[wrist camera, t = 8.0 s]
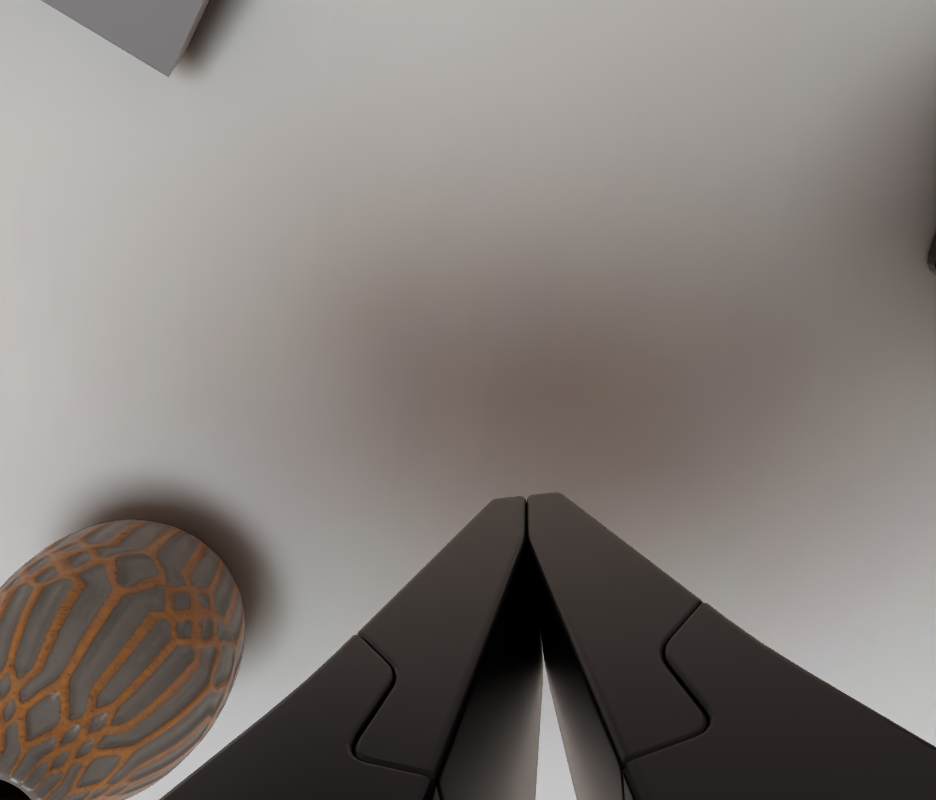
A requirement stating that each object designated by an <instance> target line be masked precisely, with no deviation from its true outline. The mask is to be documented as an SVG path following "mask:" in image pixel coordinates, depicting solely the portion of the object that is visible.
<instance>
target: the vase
mask: <svg viewBox="0 0 936 800" xmlns="http://www.w3.org/2000/svg"><path fill="white" fill-rule="evenodd" d="M244 635H245V620H244V611H243V604H242V599H241V595H240V593H239V590H238V587H237V585H236V583H235V581H234V579H233V577H232V575H231V573H230V572H229V570H228V568H227V567H226V565H225V564H224V563H223V561H222V560H221V559H220V558H219V556H218V555H217V554H216V553H215V552H214V551H213V550H212V549H211V548H209V547H208V546H207V545H206V544H205V543H203V542H202V541H201V540H199V539H198V538H196V537H194V536H193V535H191V534H189V533H187V532H185V531H183V530H181V529H179V528H176V527H173V526H171V525H167V524H164V523H159V522H153V521H145V520H117V521H111V522H107V523H102V524H98V525H94V526H91V527H88V528H85V529H83V530H80V531H78V532H75V533H73V534H70V535H68V536H66V537H64V538H62V539H60V540H59V541H57V542H55V543H53V544H51V545H50V546H48V547H46V548H45V549H44V550H42V551H41V552H40V553H38V554H37V555H36V556H34V557H33V558H32V559H31V560H29V561H28V562H27V563H25V564H24V565H23V566H22V567H21V568H20V569H19V570H18V571H16V572H15V573H14V574H13V575H12V576H11V577H10V578H9V579H8V580H7V581H6V582H5V583H4V584H3V585H2V586H1V588H0V800H124V799H127V798H129V797H132V796H134V795H136V794H138V793H140V792H141V791H143V790H145V789H147V788H149V787H150V786H152V785H153V784H155V783H156V782H158V781H159V780H160V779H162V778H163V777H164V776H166V775H167V774H168V773H169V772H171V771H172V770H173V769H174V768H175V767H176V766H177V765H179V764H180V763H181V762H182V761H183V760H184V759H185V758H186V757H187V756H188V755H189V754H190V753H191V752H192V751H193V749H194V748H195V747H196V746H197V745H198V744H199V743H200V742H201V741H202V739H203V738H204V737H205V735H206V734H207V733H208V731H209V730H210V729H211V727H212V726H213V724H214V723H215V721H216V719H217V718H218V716H219V714H220V712H221V711H222V709H223V707H224V705H225V703H226V701H227V699H228V697H229V694H230V692H231V690H232V688H233V685H234V682H235V680H236V677H237V674H238V671H239V668H240V663H241V658H242V653H243V647H244Z"/></svg>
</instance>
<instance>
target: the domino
mask: <svg viewBox="0 0 936 800" xmlns="http://www.w3.org/2000/svg"><path fill="white" fill-rule="evenodd" d="M42 1H43V2H45V3H47V4H48V5H50V6H52V7H53V8H55V9H57V10H58V11H60V12H61V13H63V14H65V15H66V16H68V17H70V18H71V19H73V20H75V21H76V22H78V23H80V24H81V25H83V26H85V27H86V28H88V29H90V30H91V31H93V32H95V33H96V34H98V35H100V36H101V37H103V38H105V39H106V40H108V41H110V42H111V43H113V44H115V45H116V46H118V47H120V48H121V49H123V50H125V51H126V52H128V53H130V54H131V55H133V56H134V57H136V58H138V59H139V60H141V61H143V62H144V63H146V64H148V65H149V66H151V67H153V68H154V69H156V70H158V71H159V72H161V73H163V74H164V75H166V76H168V77H169V76H170V74H171V73H172V71H173V70H174V68H175V67H176V65H177V64H178V62H179V61H180V59H181V58H182V56H183V55H184V53H185V52H186V50H187V48H188V45H189V43H190V41H191V39H192V37H193V35H194V33H195V30H196V28H197V26H198V24H199V22H200V20H201V17H202V15H203V13H204V11H205V9H206V7H207V4H208V2H209V0H42Z"/></svg>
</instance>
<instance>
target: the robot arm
mask: <svg viewBox="0 0 936 800" xmlns="http://www.w3.org/2000/svg"><path fill="white" fill-rule="evenodd" d="M928 264H929V268H930V270H931V271H932V272H933V273H934V274H935V275H936V234H935V237H934V240H933V243H932V246H931V249H930V252H929V257H928ZM542 647H543V652H542ZM543 654H544V661H545V668H546V672H547V677H548V682H549V686H550V691H551V695H552V699H553V703H554V707H555V711H556V715H557V720H558V724H559V728H560V732H561V736H562V740H563V744H564V748H565V753H566V757H567V761H568V765H569V769H570V773H571V777H572V782H573V786H574V790H575V794H576V798H577V800H936V747H935V746H933V745H931V744H930V743H928V742H926V741H925V740H923V739H921V738H920V737H918V736H916V735H914V734H913V733H911V732H909V731H908V730H906V729H904V728H903V727H901V726H899V725H898V724H896V723H894V722H892V721H891V720H889V719H887V718H886V717H884V716H882V715H881V714H879V713H877V712H875V711H874V710H872V709H870V708H869V707H867V706H865V705H864V704H862V703H860V702H859V701H857V700H855V699H853V698H852V697H850V696H848V695H847V694H845V693H843V692H842V691H840V690H838V689H836V688H835V687H833V686H831V685H830V684H828V683H826V682H825V681H823V680H821V679H819V678H818V677H816V676H814V675H813V674H811V673H809V672H808V671H806V670H804V669H803V668H801V667H799V666H798V665H796V664H795V663H793V662H791V661H790V660H788V659H787V658H785V657H783V656H782V655H780V654H779V653H777V652H775V651H774V650H772V649H771V648H769V647H767V646H766V645H764V644H763V643H761V642H760V641H758V640H757V639H755V638H754V637H753V636H751V635H750V634H748V633H747V632H745V631H744V630H743V629H741V628H740V627H738V626H737V625H736V624H734V623H733V622H731V621H730V620H728V619H727V618H726V617H724V616H723V615H722V614H720V613H719V612H718V611H717V610H715V609H714V608H713V607H711V606H710V605H709V604H707V603H703V602H702V601H701V600H700V599H699V598H698V597H696V596H695V595H694V594H692V593H691V592H690V591H688V590H687V589H686V588H685V587H683V586H682V585H681V584H679V583H678V582H677V581H675V580H674V579H673V578H671V577H670V576H669V575H667V574H666V573H665V572H664V571H662V570H661V569H660V568H658V567H657V566H656V565H654V564H653V563H652V562H650V561H649V560H648V559H646V558H645V557H644V556H643V555H641V554H640V553H639V552H637V551H636V550H635V549H633V548H632V547H631V546H629V545H628V544H627V543H625V542H624V541H623V540H622V539H620V538H619V537H618V536H616V535H615V534H614V533H612V532H611V531H610V530H608V529H607V528H606V527H604V526H603V525H602V524H601V523H599V522H598V521H597V520H595V519H594V518H593V517H591V516H590V515H589V514H587V513H586V512H585V511H583V510H582V509H581V508H580V507H578V506H577V505H576V504H574V503H573V502H572V501H570V500H569V499H568V498H566V497H565V496H564V495H563V494H560V493H546V494H537V495H531V496H529V497H528V499H527V502H526V500H525V498H524V497H521V496H518V497H508V498H499V499H494V500H492V501H491V502H490V503H489V504H488V505H487V506H486V507H485V508H484V509H483V510H482V511H481V512H480V513H479V514H478V515H477V516H476V517H474V518H473V519H472V520H471V521H470V522H469V523H468V524H467V525H466V526H465V527H464V528H463V529H462V530H461V531H460V532H459V533H458V534H457V535H456V536H455V537H454V538H453V539H452V540H451V541H450V542H449V543H448V544H447V545H446V546H445V547H444V548H443V549H442V550H441V551H440V552H439V553H438V554H437V555H436V556H435V557H434V558H433V559H432V560H431V561H430V562H429V563H428V564H427V565H426V566H425V567H424V568H423V569H422V570H421V571H420V572H419V573H418V574H417V575H416V576H415V577H414V578H413V579H412V580H411V581H410V582H409V583H408V584H407V585H406V586H405V587H404V588H403V589H402V590H400V591H399V592H398V593H397V594H396V595H395V596H394V597H393V598H392V599H391V600H390V601H389V602H388V603H387V604H386V605H385V606H384V607H383V608H382V609H381V610H380V611H379V612H378V613H377V614H376V615H375V616H374V617H373V618H372V619H371V620H370V621H369V622H368V623H367V624H366V625H365V626H364V627H363V628H362V629H361V630H360V631H359V632H358V635H354V636H352V637H351V638H350V639H349V640H348V641H347V642H346V643H345V644H344V645H343V646H342V647H341V648H340V649H339V650H338V651H337V652H336V653H335V654H334V655H333V656H332V657H331V658H330V659H328V660H327V661H326V662H325V663H324V664H323V665H322V666H321V667H320V668H319V669H318V670H317V671H316V672H314V673H313V674H312V675H311V676H310V677H309V678H308V679H307V680H306V681H305V682H304V683H302V684H301V685H300V686H299V687H298V688H296V689H295V690H294V691H293V692H292V693H291V694H289V695H288V696H287V697H286V698H285V699H283V700H282V701H281V702H280V703H279V704H277V705H276V706H275V707H274V708H273V709H271V710H270V711H269V712H268V713H267V714H265V715H264V716H263V717H262V718H260V719H259V720H258V721H257V722H255V723H254V724H253V725H252V726H251V727H249V728H248V729H247V730H246V731H244V732H243V733H242V734H241V735H239V736H238V737H237V738H236V739H234V740H233V741H232V742H231V743H229V744H228V745H227V746H226V747H224V748H223V749H222V750H221V751H219V752H218V753H217V754H216V755H214V756H213V757H212V758H211V759H209V760H208V761H207V762H206V763H204V764H203V765H202V766H201V767H199V768H198V769H197V770H196V771H194V772H193V773H192V774H191V775H189V776H188V777H187V778H186V779H184V780H183V781H182V782H181V783H179V784H178V785H177V786H176V787H174V788H173V789H172V790H171V791H169V792H168V793H167V794H166V795H164V796H163V797H162V798H161V799H159V800H535V795H536V780H537V764H538V748H539V732H540V717H541V701H542V685H543Z"/></svg>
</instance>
